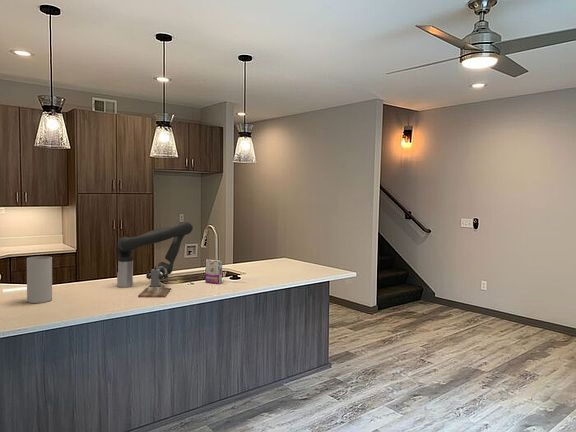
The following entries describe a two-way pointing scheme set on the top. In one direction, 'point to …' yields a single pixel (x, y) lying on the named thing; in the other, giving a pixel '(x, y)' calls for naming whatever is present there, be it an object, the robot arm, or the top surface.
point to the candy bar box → (213, 271)
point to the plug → (155, 277)
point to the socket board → (154, 292)
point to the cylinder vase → (39, 279)
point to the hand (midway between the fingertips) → (154, 277)
